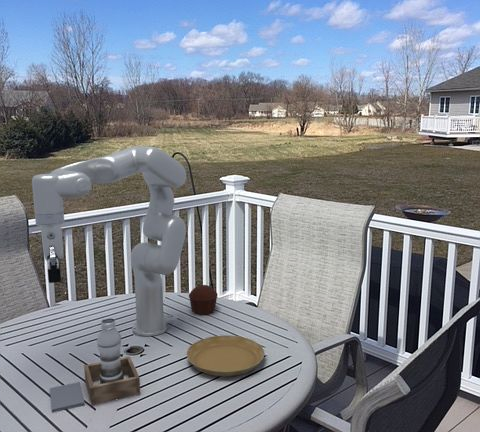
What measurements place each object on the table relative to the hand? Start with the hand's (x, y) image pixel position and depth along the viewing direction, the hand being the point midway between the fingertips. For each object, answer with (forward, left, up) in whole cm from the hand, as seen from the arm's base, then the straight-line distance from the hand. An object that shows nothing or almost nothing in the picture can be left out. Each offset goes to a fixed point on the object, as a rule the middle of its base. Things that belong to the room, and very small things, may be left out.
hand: (54, 276), depth 138 cm
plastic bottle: (-12, +15, -30) cm, 36 cm away
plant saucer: (-47, +14, -30) cm, 57 cm away
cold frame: (-12, +15, -29) cm, 35 cm away
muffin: (-54, -26, -30) cm, 67 cm away
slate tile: (0, +15, -29) cm, 33 cm away
